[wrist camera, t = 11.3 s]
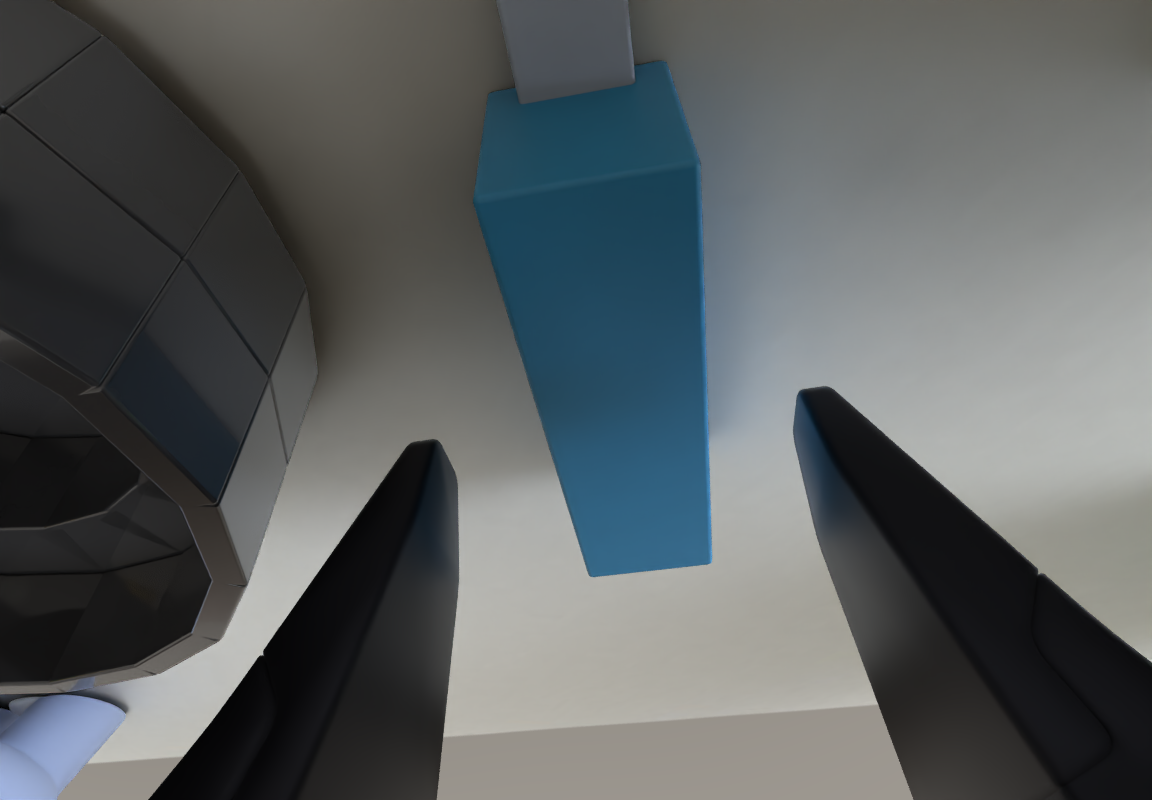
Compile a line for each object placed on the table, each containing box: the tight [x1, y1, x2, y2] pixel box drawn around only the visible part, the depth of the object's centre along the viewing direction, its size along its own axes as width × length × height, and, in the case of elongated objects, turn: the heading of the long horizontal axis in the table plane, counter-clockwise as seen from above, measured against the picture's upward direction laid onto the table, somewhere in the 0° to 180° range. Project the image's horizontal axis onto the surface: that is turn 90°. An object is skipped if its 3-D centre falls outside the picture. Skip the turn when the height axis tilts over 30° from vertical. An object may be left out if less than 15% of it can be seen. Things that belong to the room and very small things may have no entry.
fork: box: [473, 0, 712, 577], centre depth 9 cm, size 16×3×3 cm, turn 10°
